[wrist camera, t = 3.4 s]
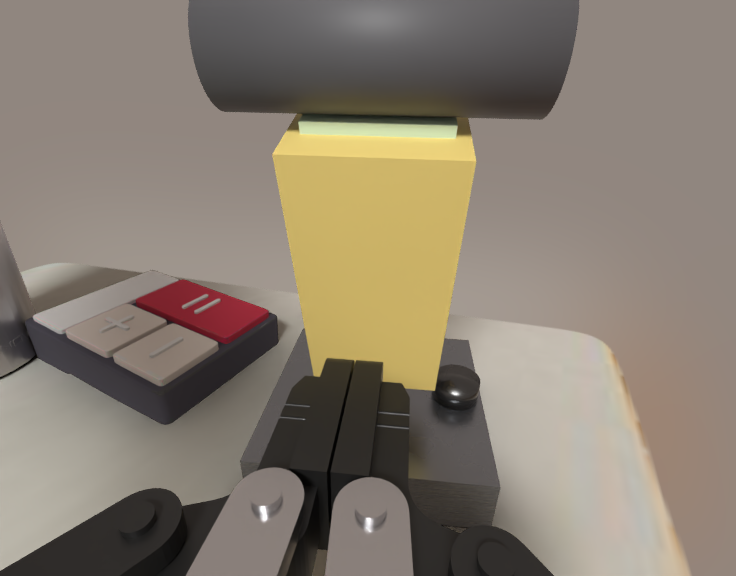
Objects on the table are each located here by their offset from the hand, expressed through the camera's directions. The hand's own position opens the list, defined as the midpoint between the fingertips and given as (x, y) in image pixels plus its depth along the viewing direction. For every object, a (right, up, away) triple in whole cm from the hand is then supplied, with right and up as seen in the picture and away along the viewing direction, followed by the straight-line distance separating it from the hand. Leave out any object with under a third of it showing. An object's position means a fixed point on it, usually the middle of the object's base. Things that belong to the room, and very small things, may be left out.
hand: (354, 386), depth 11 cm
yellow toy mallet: (+1, -2, +12) cm, 13 cm away
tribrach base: (+1, -6, +14) cm, 16 cm away
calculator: (-16, -3, +22) cm, 27 cm away
